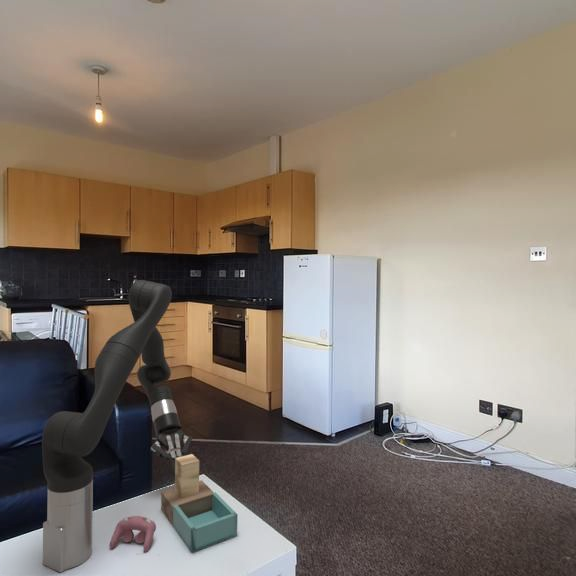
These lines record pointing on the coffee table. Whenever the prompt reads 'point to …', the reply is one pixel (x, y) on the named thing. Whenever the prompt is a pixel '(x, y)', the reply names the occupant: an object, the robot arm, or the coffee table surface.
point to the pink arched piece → (134, 523)
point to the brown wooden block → (187, 502)
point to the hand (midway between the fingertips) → (179, 471)
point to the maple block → (187, 475)
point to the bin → (206, 525)
